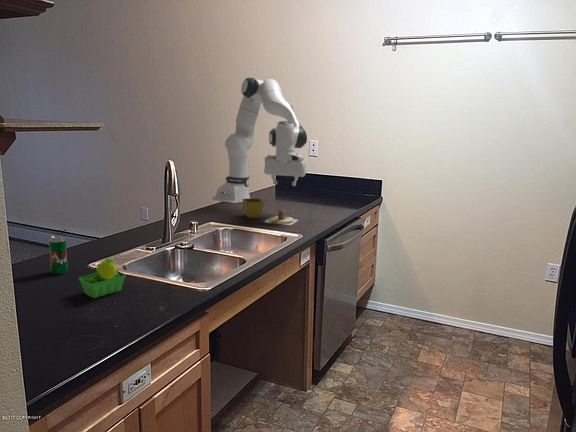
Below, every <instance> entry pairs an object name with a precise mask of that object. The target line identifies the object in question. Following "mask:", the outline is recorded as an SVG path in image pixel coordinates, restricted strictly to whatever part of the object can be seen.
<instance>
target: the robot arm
mask: <svg viewBox="0 0 576 432" xmlns="http://www.w3.org/2000/svg"><path fill="white" fill-rule="evenodd" d="M241 94H242V95H243V97H242V98H241V101H240V104H239V108H238V112H237V115H236V118H235V132H234V133H231V134H230V135H228V136H227V138H226V139H225V141H224V146H225V148H226V150H227V157H228V163H229V165H228V167H229V169H228V171H229V172H228V173H229V175H228V176H226V177H225V178H224V179H225V181H226V182H225V183H223V184H222V185H221V186H219V187H218V188H217V190H216V192H215V195H214V196H213V197H211V198H212V199H211V200H212V201H218V202H223V203H224V202H225V203H230V204H236V203H243V200H242V199H247V198H251V196H250V189H249V187H250V176H249V171H250V170H249V166H250V165H249V161H248V156H247V151H249V150H250V149H251V147H252V146H253V144H254V140H253V139H254V134H255V133H254V132H255V126H256V124H257V123H256V122H257V119H258V116H259V113H260V109H261V105H262V106H263V109H264V111H266V112H267V113H268V114H270V115H273V116H277V117H280V118H282V119H285V120H281V121H278V122H277V125H276V127H275V128H272V129H271V130H270V131H269V132H268V135H269V136H268V142H269V144H270V145H271V146H272V148H273V147H274V148H275V155H270V154H268V155H266V156H265V157H264V169H263V170H264V174H265V175H268V176H271V179H272V181H273V183H272V184H273V185H278V180H276V179H277V178H276V176H283V177H285V176H286V177H293V178H294V181H292V182H291V186H294V187H295V186H296V185H297V181H298V179H299V178H303V177H305V176H306V175H307V174H306V173H307V168H306V162H305V161H304V159H305V156H304V155H302V154H300V153H297V152H295V149H301V148H303V147H304V146H305V145H306V143H307V141H308V135H307V134H308V133H307V132H306V130H305V128H304V127H303V126H302V123H301V121H300V119H299V117H298V116H297V115H298V114H297V112H296V111H295V109H294V107H293V105H292V104H290V103H289V102H288V101H287V100H286V99H285V97H284V95H283V92H282V89H281V86H280V84H279V82H278V81H277V80H275V79H273V78H267V79H265V80H262V79H257V78H254V77H246V78H245V79H243V82H242V84H241Z"/></svg>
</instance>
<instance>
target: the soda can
mask: <svg viewBox="0 0 576 432" xmlns="http://www.w3.org/2000/svg"><path fill="white" fill-rule="evenodd" d="M67 247H68V246H67V239H66V238H65V236H64V235H53V236H50V237H49V240H48V249H49V260H50V261H49V263H50V273H51V274H52V275H55V276H56V275H58V276H60V275H65V274H67V272H68V271H69V266H68V265H69V264H68V250H67V249H68V248H67Z"/></svg>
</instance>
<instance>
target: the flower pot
mask: <svg viewBox="0 0 576 432" xmlns="http://www.w3.org/2000/svg"><path fill="white" fill-rule="evenodd" d="M242 200H243V202H242V209H243V212H244V215H245V216H246V217H247V218H249V219H255V218H260V217H261V215H262V214H263V211H264V210H263V209H264V203H265V202H264V200H262V199H260V198H259V197H253V198H252V197H250V198H247V199H242Z"/></svg>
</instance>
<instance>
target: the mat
mask: <svg viewBox="0 0 576 432" xmlns="http://www.w3.org/2000/svg"><path fill="white" fill-rule="evenodd" d="M293 219H294V218H293ZM298 221H299V219H294V222H292V223H289V224H283V225H286V226H292V225H294V224H295V223H297V222H298ZM263 223H267V224H273V223H272V222H270V221H269V218H267V219H266V220H265V221H263ZM274 224H277V223H274ZM277 225H278V224H277Z"/></svg>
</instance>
